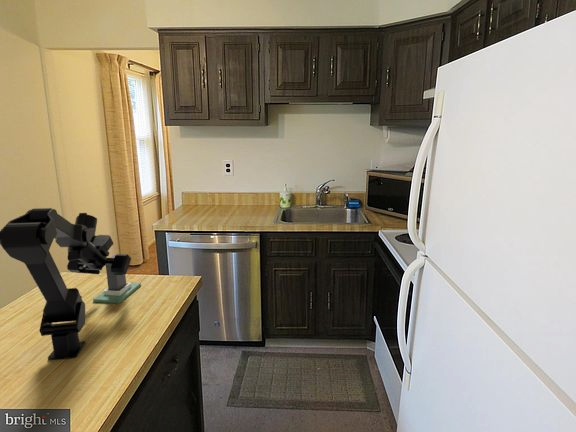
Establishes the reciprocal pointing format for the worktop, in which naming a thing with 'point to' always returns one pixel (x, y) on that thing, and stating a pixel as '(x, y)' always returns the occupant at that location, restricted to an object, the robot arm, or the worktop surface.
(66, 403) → the worktop surface
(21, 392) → the worktop surface
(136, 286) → the board
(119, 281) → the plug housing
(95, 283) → the worktop surface
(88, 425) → the worktop surface
